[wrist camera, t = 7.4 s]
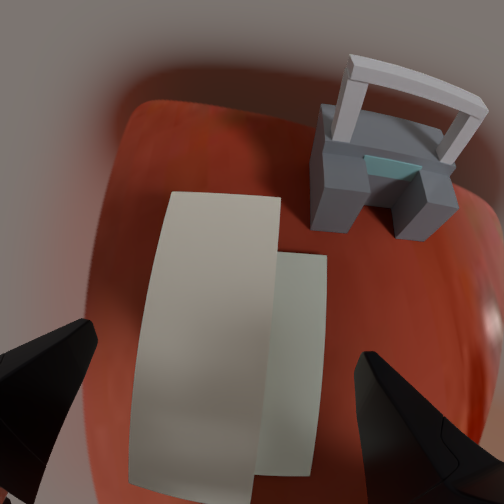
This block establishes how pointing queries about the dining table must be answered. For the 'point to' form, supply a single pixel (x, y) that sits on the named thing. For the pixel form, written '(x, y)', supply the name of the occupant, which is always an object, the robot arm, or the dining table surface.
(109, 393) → the dining table surface
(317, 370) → the mat
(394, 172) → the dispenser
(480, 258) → the dining table surface
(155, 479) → the white rectangular block
